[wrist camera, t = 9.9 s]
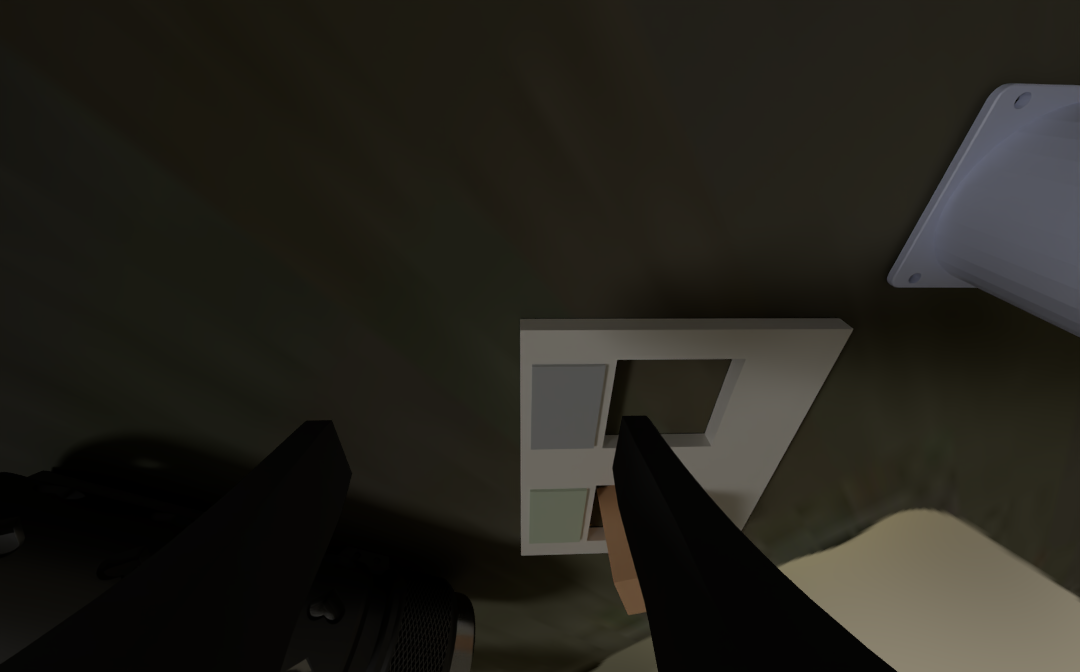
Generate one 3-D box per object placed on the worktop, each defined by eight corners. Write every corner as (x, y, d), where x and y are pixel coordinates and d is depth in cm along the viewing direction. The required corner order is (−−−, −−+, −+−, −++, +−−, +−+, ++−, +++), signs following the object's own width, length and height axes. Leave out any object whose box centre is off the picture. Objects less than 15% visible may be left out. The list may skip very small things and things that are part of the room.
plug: (662, 473, 27) (695, 566, 22) (671, 513, 29) (702, 604, 24) (596, 488, 27) (613, 582, 22) (611, 526, 30) (629, 618, 25)
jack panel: (839, 318, 20) (856, 331, 19) (725, 536, 31) (732, 551, 30) (520, 318, 19) (520, 332, 18) (520, 542, 30) (521, 558, 29)
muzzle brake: (36, 419, 22) (-279, 651, 13) (487, 552, 31) (475, 734, 23) (36, 508, 26) (-202, 727, 17) (433, 600, 36) (406, 770, 27)
